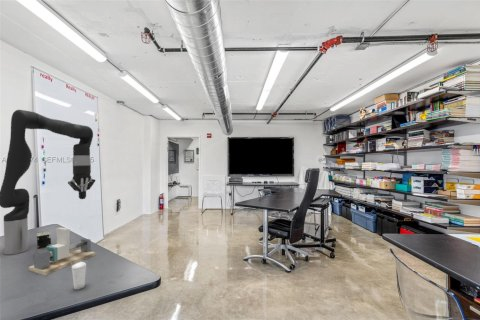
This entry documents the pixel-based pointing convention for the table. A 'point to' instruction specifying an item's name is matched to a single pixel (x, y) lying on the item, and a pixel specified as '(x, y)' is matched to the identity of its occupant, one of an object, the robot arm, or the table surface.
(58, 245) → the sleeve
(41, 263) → the pipe stand
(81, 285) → the milkshake
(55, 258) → the thin teal tile
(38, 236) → the pneumatic valve
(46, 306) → the table surface
